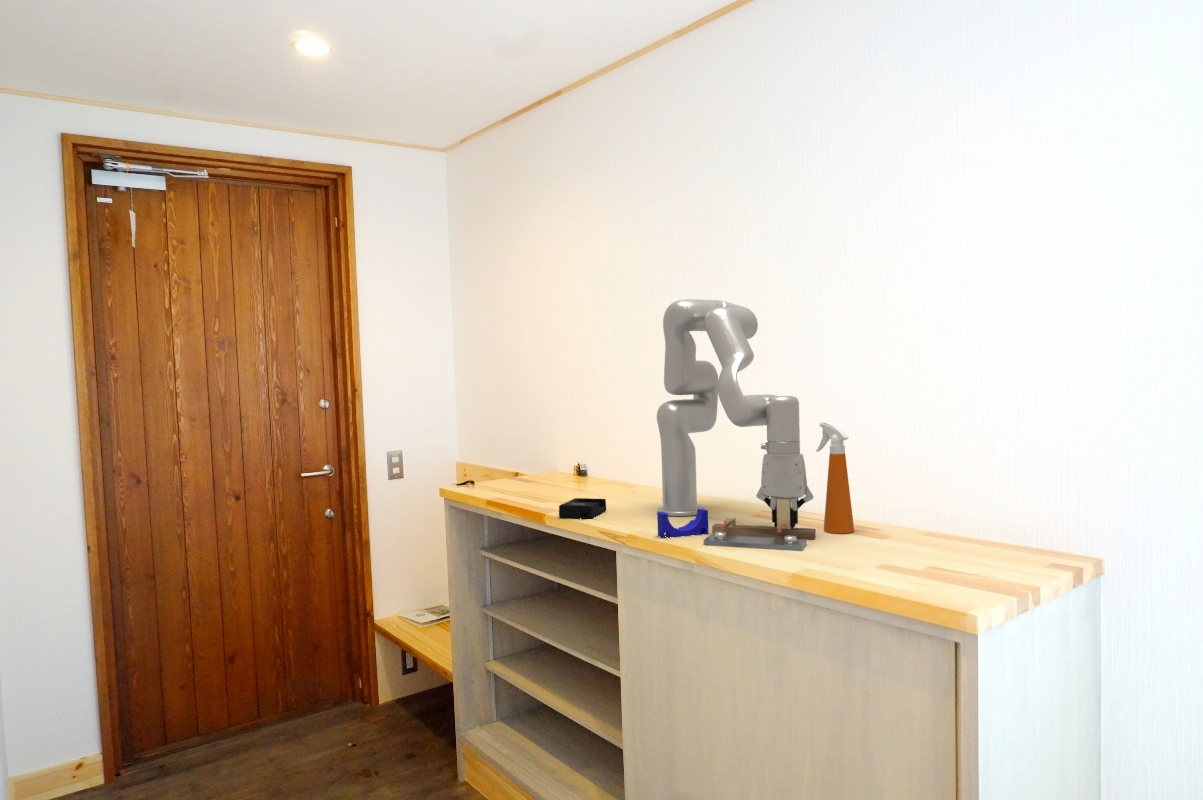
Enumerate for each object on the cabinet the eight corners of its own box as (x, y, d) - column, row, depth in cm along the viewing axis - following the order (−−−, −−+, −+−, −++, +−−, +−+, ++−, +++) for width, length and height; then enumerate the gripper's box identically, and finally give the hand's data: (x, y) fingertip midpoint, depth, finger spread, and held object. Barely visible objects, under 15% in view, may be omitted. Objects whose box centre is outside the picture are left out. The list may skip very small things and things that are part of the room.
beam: (716, 531, 193) (715, 516, 193) (815, 536, 183) (815, 521, 183) (705, 539, 184) (705, 524, 184) (810, 545, 175) (809, 529, 175)
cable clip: (701, 531, 194) (700, 507, 194) (708, 534, 190) (707, 510, 190) (655, 535, 191) (655, 511, 191) (662, 539, 187) (661, 514, 186)
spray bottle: (829, 524, 197) (827, 420, 196) (860, 531, 187) (858, 422, 186) (807, 527, 194) (805, 421, 193) (837, 535, 184) (835, 424, 183)
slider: (780, 525, 187) (779, 496, 186) (792, 525, 185) (792, 496, 185) (772, 533, 178) (772, 502, 178) (786, 534, 177) (785, 503, 176)
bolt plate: (711, 538, 185) (711, 529, 185) (806, 543, 177) (806, 534, 176) (703, 544, 179) (703, 535, 179) (801, 550, 170) (801, 540, 170)
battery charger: (591, 520, 213) (591, 506, 213) (558, 519, 216) (558, 505, 216) (606, 512, 225) (606, 498, 225) (575, 511, 228) (575, 497, 228)
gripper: (745, 449, 183) (747, 527, 184) (817, 450, 177) (818, 531, 178) (752, 446, 190) (753, 521, 191) (821, 447, 184) (822, 524, 184)
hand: (785, 525), depth 184 cm, fingers closed on slider, 3 cm apart
